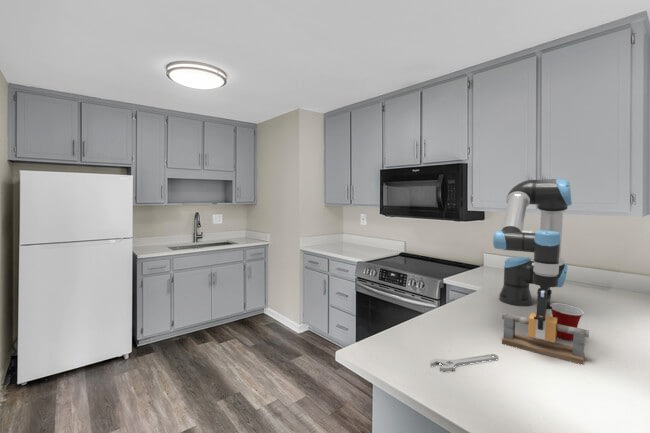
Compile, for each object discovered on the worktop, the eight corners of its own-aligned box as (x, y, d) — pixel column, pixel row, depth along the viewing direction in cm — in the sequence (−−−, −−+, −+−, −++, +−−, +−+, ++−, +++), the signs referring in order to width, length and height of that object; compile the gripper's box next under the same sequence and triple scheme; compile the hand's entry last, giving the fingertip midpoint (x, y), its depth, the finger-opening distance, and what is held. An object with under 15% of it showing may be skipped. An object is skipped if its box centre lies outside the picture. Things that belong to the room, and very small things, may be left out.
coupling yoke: (530, 329, 124) (531, 312, 124) (556, 335, 119) (557, 317, 119) (528, 335, 119) (528, 318, 119) (554, 342, 114) (555, 323, 114)
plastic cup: (567, 345, 122) (569, 313, 122) (541, 333, 133) (543, 304, 132) (589, 342, 125) (591, 311, 124) (562, 330, 136) (563, 302, 135)
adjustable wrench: (494, 357, 114) (494, 352, 114) (508, 367, 108) (508, 361, 107) (428, 364, 109) (428, 358, 109) (438, 374, 103) (438, 368, 102)
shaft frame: (504, 334, 132) (505, 309, 131) (587, 354, 115) (589, 326, 115) (498, 343, 124) (500, 316, 123) (587, 365, 107) (588, 335, 107)
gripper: (537, 266, 130) (534, 319, 131) (527, 279, 110) (524, 340, 112) (560, 269, 125) (557, 324, 126) (555, 282, 106) (551, 347, 107)
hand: (542, 331), depth 119 cm, fingers open, 13 cm apart
